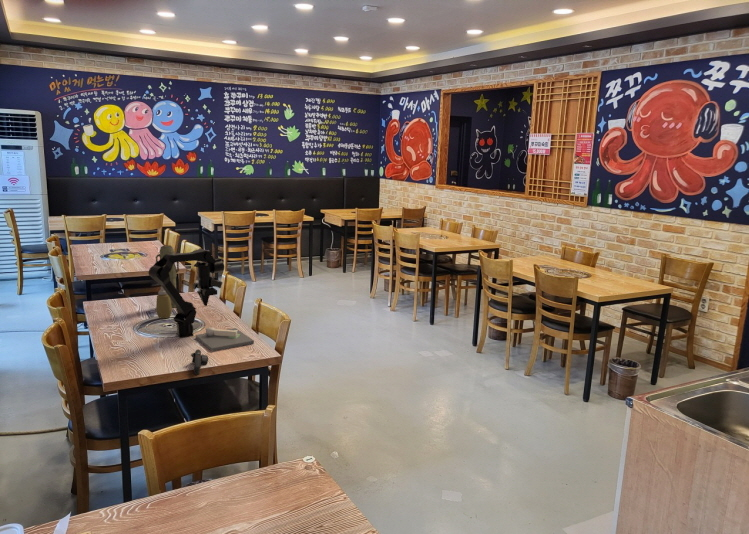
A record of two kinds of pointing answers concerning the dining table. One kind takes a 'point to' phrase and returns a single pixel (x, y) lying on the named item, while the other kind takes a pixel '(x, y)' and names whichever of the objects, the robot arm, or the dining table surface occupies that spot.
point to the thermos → (172, 273)
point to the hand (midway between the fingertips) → (205, 305)
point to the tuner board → (224, 340)
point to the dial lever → (220, 332)
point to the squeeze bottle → (163, 304)
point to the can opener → (198, 361)
